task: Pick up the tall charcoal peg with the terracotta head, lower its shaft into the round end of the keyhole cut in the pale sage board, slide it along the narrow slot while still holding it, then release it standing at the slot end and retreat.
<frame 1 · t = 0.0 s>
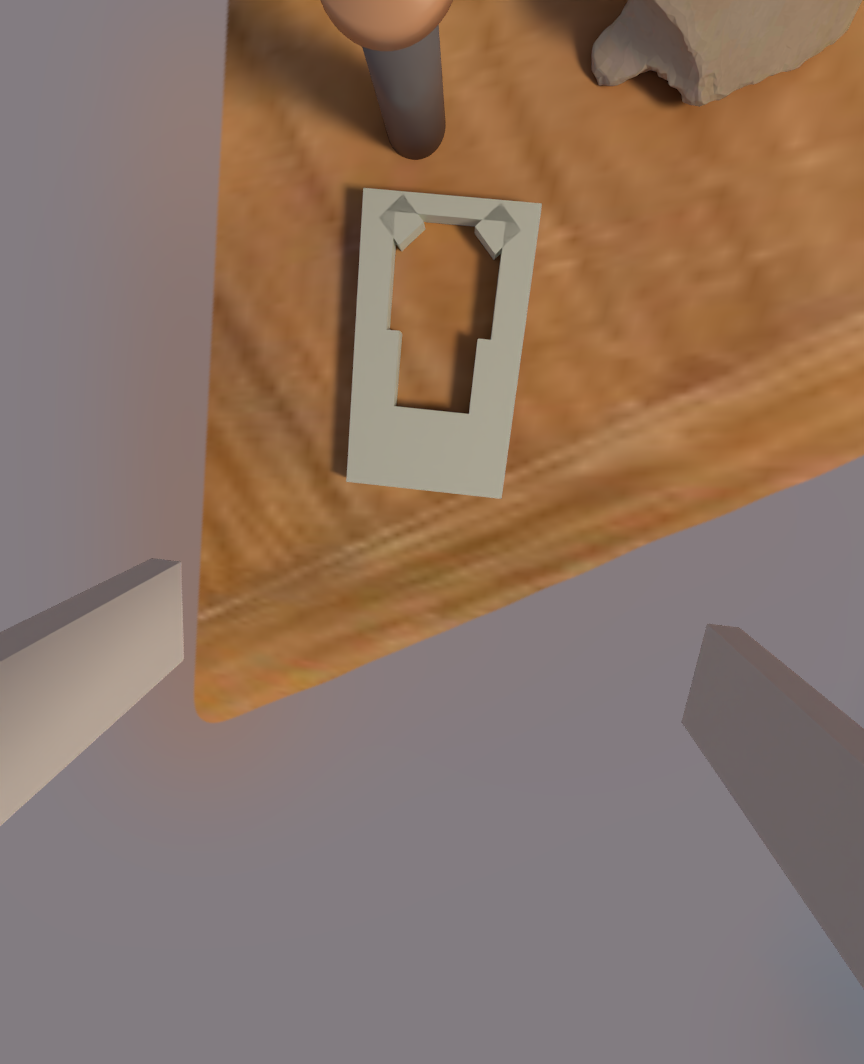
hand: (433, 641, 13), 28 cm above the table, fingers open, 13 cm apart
peg: (415, 125, 34), on the table
decorative stone: (716, 41, 32), on the table
keyhole board: (437, 355, 37), on the table
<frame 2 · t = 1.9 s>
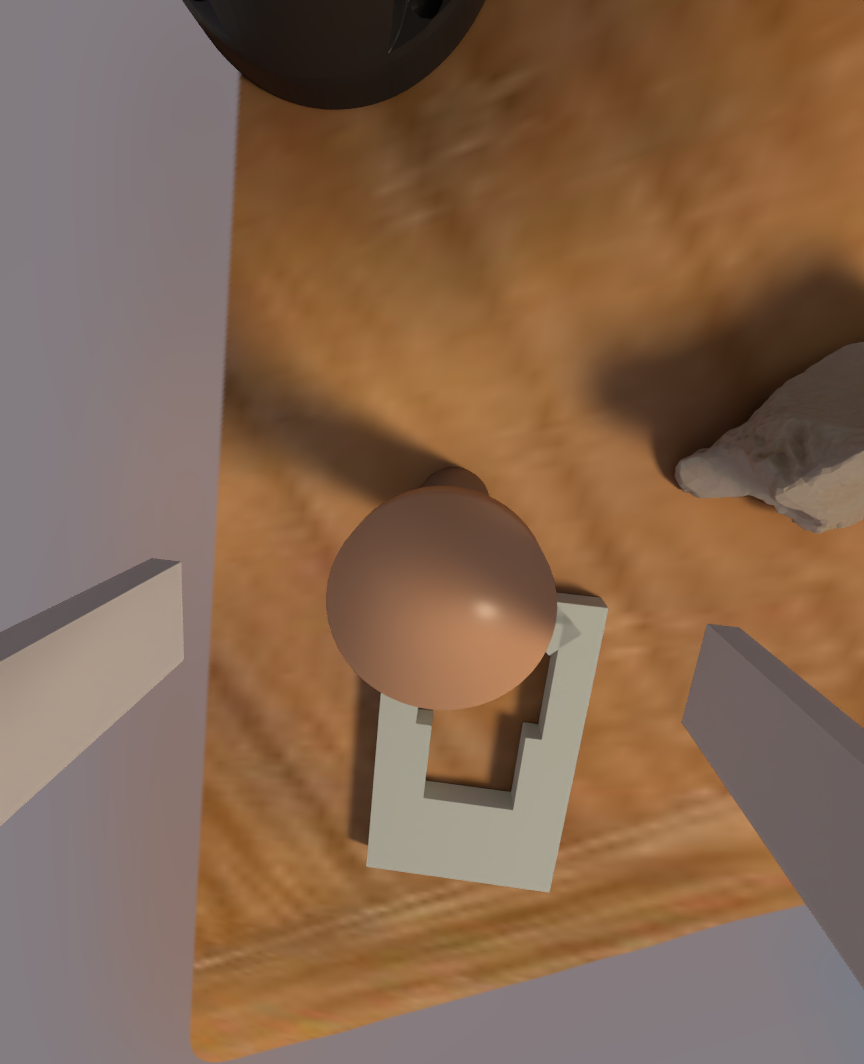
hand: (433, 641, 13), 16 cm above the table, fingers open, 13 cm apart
peg: (453, 503, 28), on the table
decorative stone: (828, 438, 26), on the table
keyhole board: (475, 733, 31), on the table
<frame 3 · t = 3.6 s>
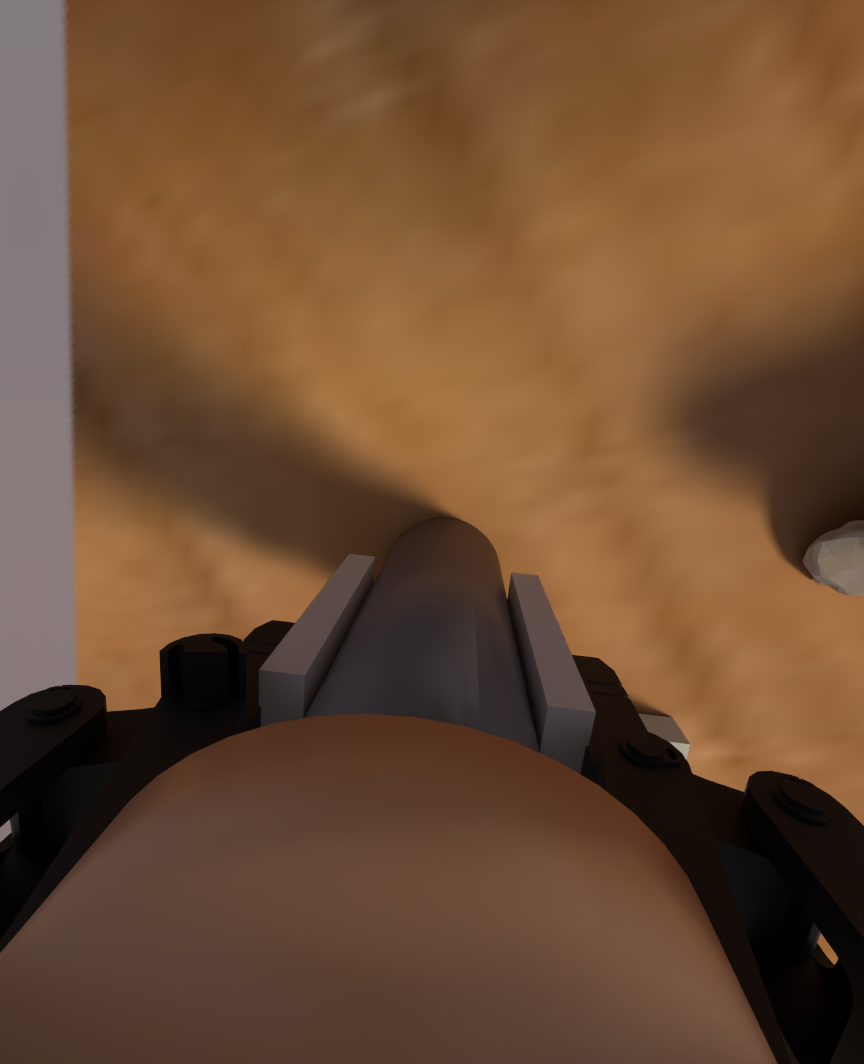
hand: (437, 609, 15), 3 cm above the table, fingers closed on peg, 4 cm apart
peg: (442, 573, 18), on the table, touching gripper
keyhole board: (476, 905, 21), on the table
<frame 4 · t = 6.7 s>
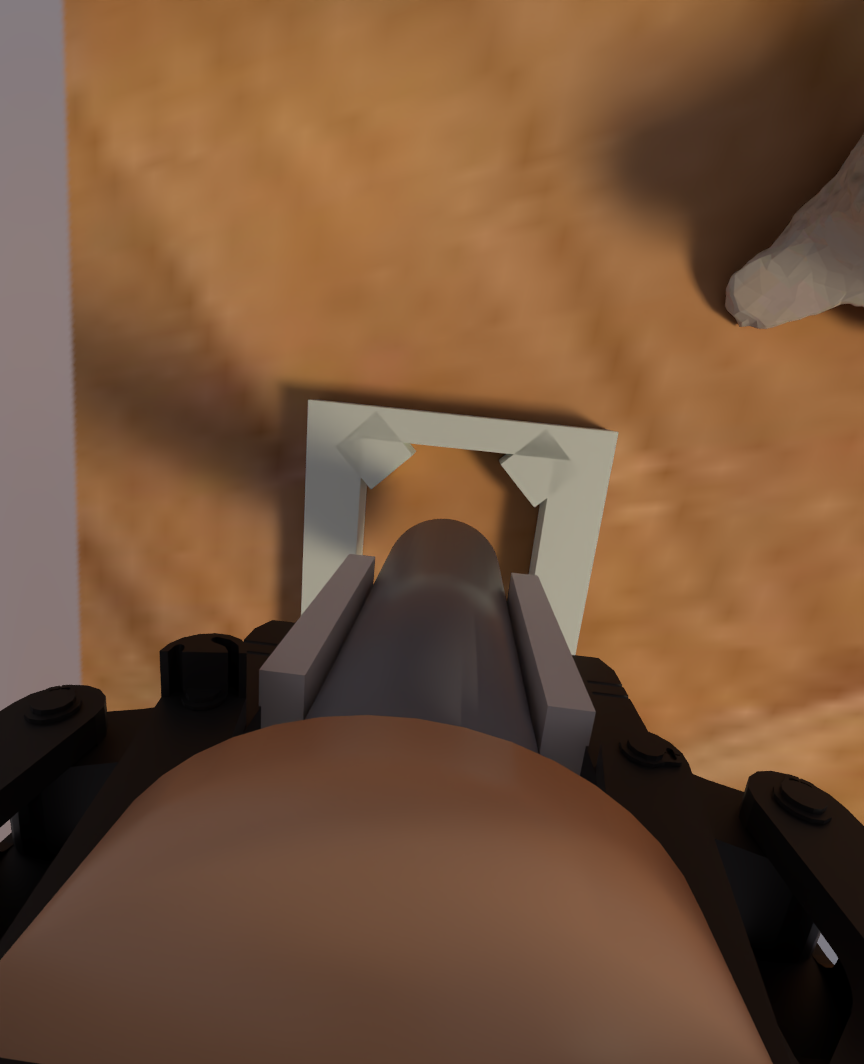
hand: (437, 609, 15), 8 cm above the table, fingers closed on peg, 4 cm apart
peg: (442, 574, 18), point 5 cm above the table, touching gripper
keyhole board: (437, 633, 23), on the table
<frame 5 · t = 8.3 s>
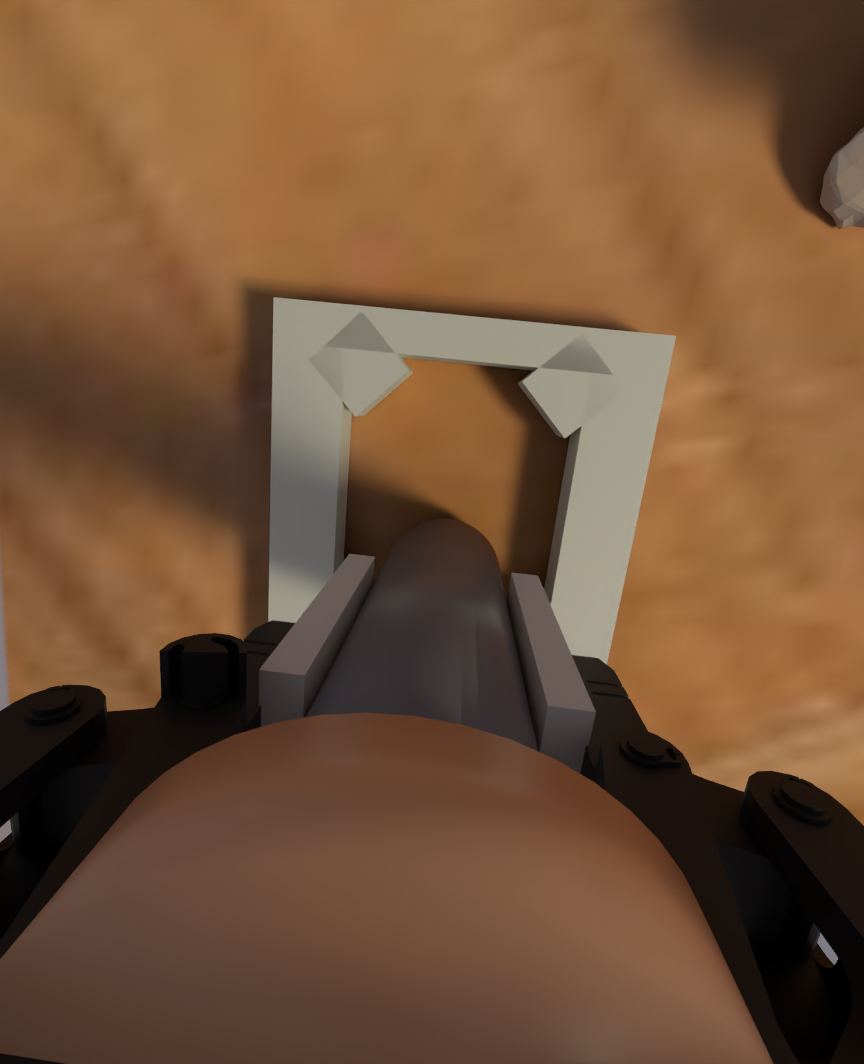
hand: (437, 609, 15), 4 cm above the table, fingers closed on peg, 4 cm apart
peg: (442, 573, 18), point 1 cm above the table, touching gripper
keyhole board: (439, 607, 19), on the table
when the fingers open (4 cm above the table, at t = 9.8 s): peg stays where it is, resting in keyhole board.
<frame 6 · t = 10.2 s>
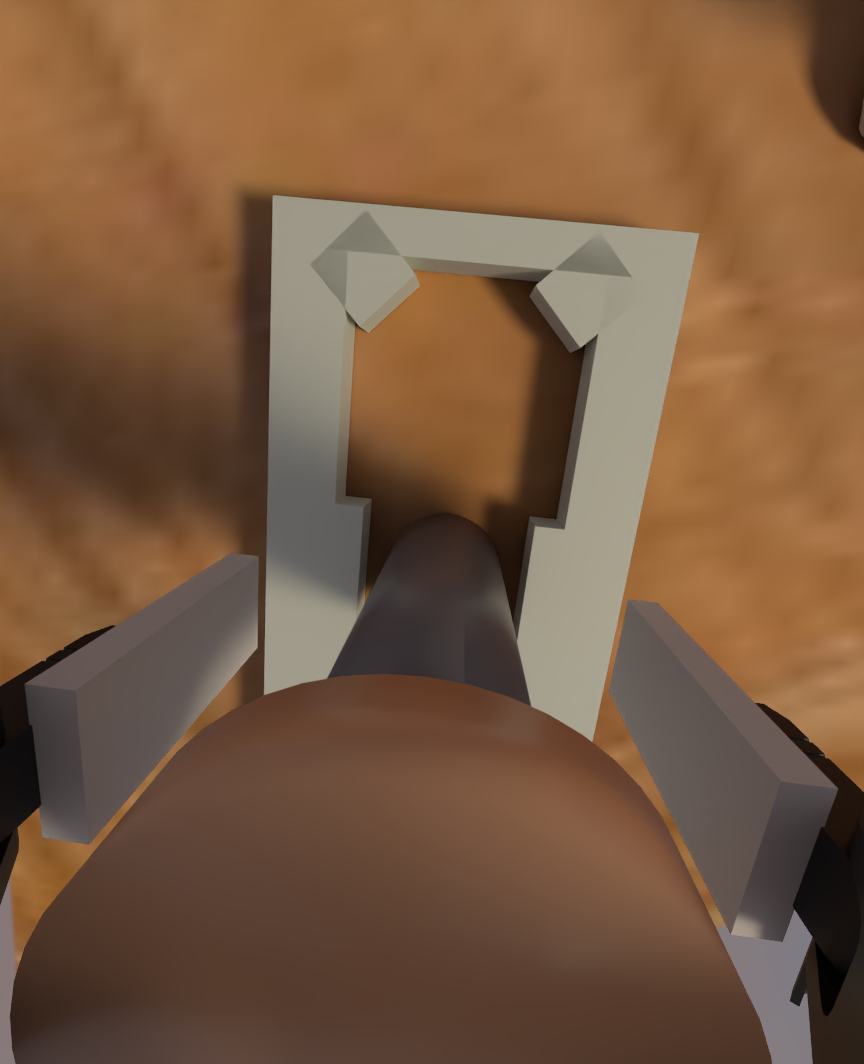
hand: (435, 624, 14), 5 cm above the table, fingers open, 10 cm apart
peg: (444, 567, 18), resting in keyhole board
keyhole board: (446, 541, 18), on the table
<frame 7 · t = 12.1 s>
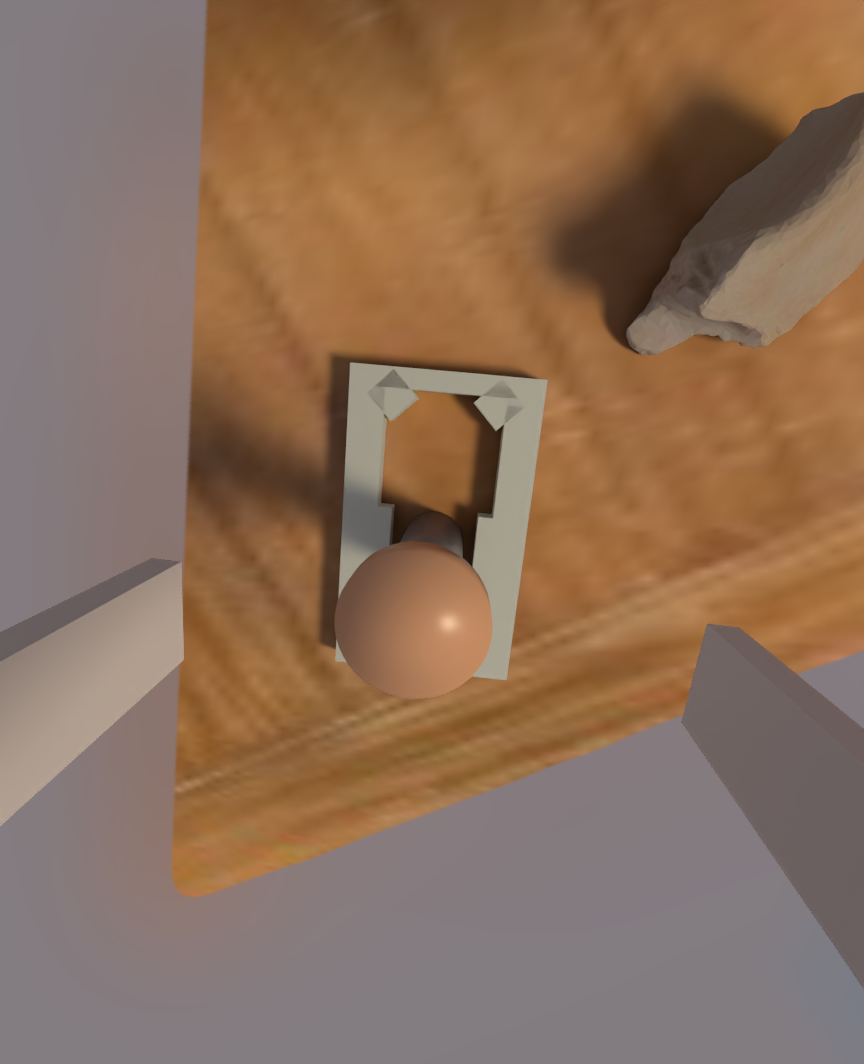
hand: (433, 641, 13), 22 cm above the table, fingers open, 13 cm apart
peg: (433, 540, 34), resting in keyhole board
decorative stone: (749, 268, 30), on the table
keyhole board: (434, 526, 34), on the table
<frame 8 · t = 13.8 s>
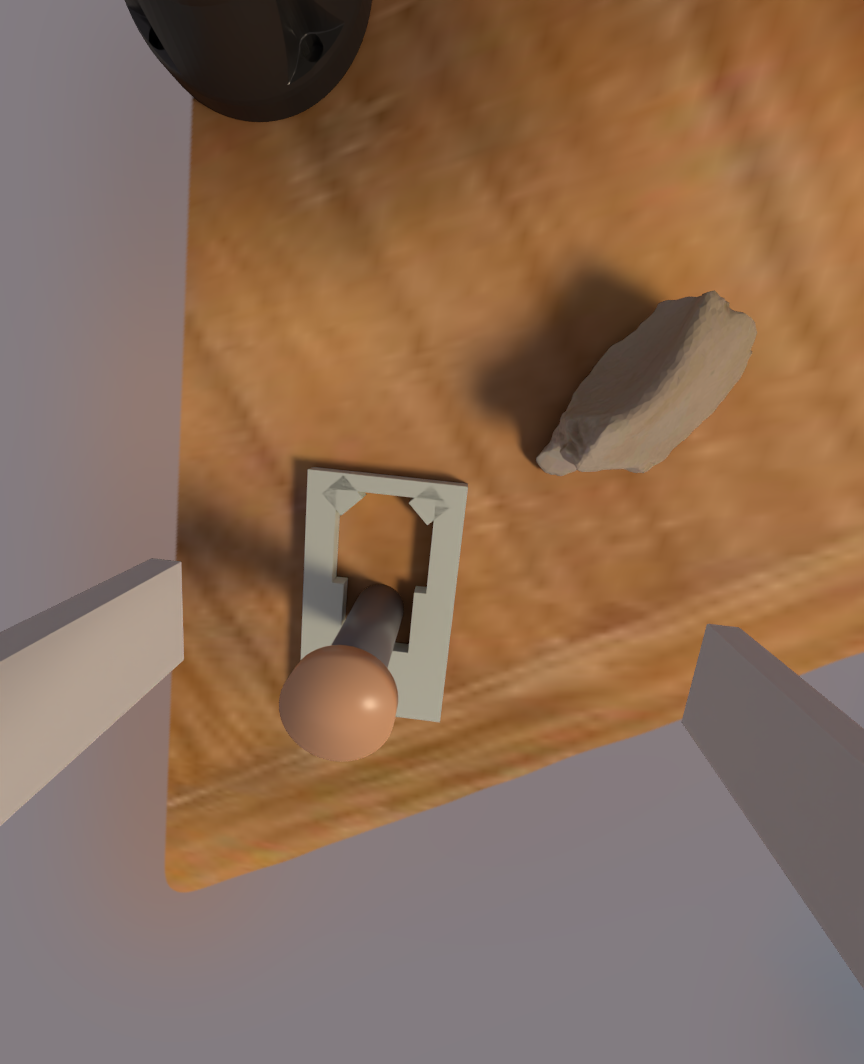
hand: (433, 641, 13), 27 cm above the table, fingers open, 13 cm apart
peg: (380, 607, 41), resting in keyhole board
decorative stone: (634, 404, 36), on the table
keyhole board: (380, 596, 41), on the table
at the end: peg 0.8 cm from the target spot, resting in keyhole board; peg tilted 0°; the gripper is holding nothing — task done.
